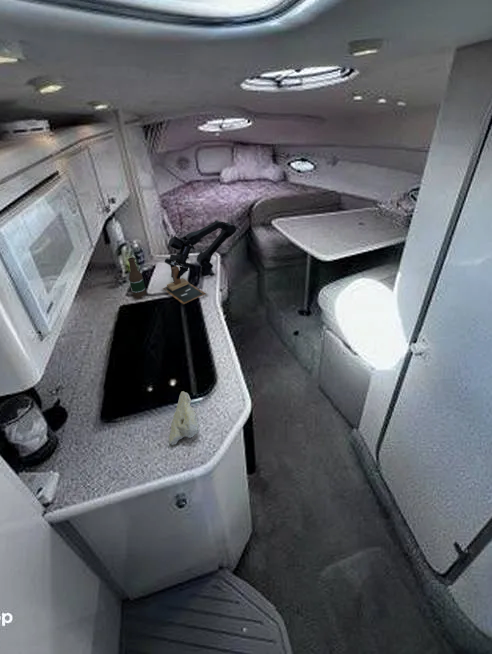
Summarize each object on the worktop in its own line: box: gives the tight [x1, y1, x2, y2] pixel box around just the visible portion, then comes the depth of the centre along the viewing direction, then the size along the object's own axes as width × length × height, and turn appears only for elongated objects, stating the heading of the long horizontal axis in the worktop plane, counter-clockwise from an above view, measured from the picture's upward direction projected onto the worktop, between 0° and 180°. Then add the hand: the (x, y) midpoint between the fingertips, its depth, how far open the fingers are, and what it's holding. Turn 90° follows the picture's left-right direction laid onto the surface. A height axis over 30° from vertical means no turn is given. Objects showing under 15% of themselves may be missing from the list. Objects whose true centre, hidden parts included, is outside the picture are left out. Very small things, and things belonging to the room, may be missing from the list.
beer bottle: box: [127, 257, 147, 300], centre depth 188 cm, size 8×8×24 cm
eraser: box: [166, 265, 189, 293], centre depth 195 cm, size 6×11×13 cm, turn 131°
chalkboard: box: [161, 281, 207, 305], centre depth 194 cm, size 24×15×1 cm, turn 41°
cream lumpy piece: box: [168, 390, 200, 446], centre depth 113 cm, size 15×7×15 cm
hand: (174, 278), depth 193 cm, fingers closed on eraser, 4 cm apart
